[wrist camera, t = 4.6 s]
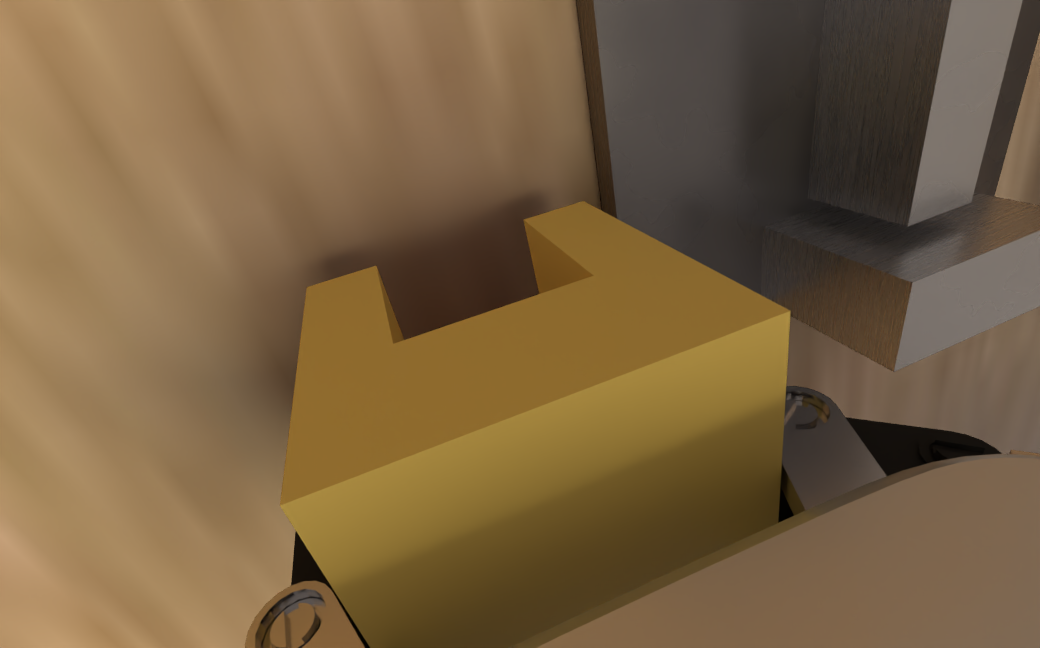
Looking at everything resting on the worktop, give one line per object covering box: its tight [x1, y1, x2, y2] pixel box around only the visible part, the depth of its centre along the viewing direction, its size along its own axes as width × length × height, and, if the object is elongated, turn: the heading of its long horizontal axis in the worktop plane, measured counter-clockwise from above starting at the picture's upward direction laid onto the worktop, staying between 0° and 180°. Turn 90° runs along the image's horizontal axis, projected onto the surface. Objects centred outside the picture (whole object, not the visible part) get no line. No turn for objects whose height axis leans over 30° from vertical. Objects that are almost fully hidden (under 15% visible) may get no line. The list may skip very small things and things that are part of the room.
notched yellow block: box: [280, 201, 791, 648], centre depth 10 cm, size 6×8×6 cm
